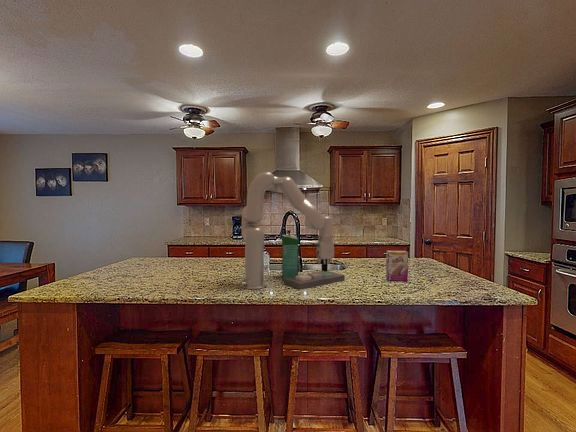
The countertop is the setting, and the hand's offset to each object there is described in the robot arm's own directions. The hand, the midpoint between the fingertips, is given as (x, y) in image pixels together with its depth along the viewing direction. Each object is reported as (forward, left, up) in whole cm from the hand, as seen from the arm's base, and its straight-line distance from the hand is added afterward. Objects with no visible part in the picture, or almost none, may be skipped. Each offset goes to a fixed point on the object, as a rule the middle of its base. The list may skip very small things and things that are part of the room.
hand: (324, 270), depth 179 cm
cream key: (-15, 0, -3) cm, 16 cm away
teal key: (+1, 0, -5) cm, 4 cm away
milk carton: (-11, +17, -6) cm, 21 cm away
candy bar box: (+33, -24, -6) cm, 41 cm away
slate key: (-7, 0, -3) cm, 8 cm away
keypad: (-7, 0, -5) cm, 9 cm away
